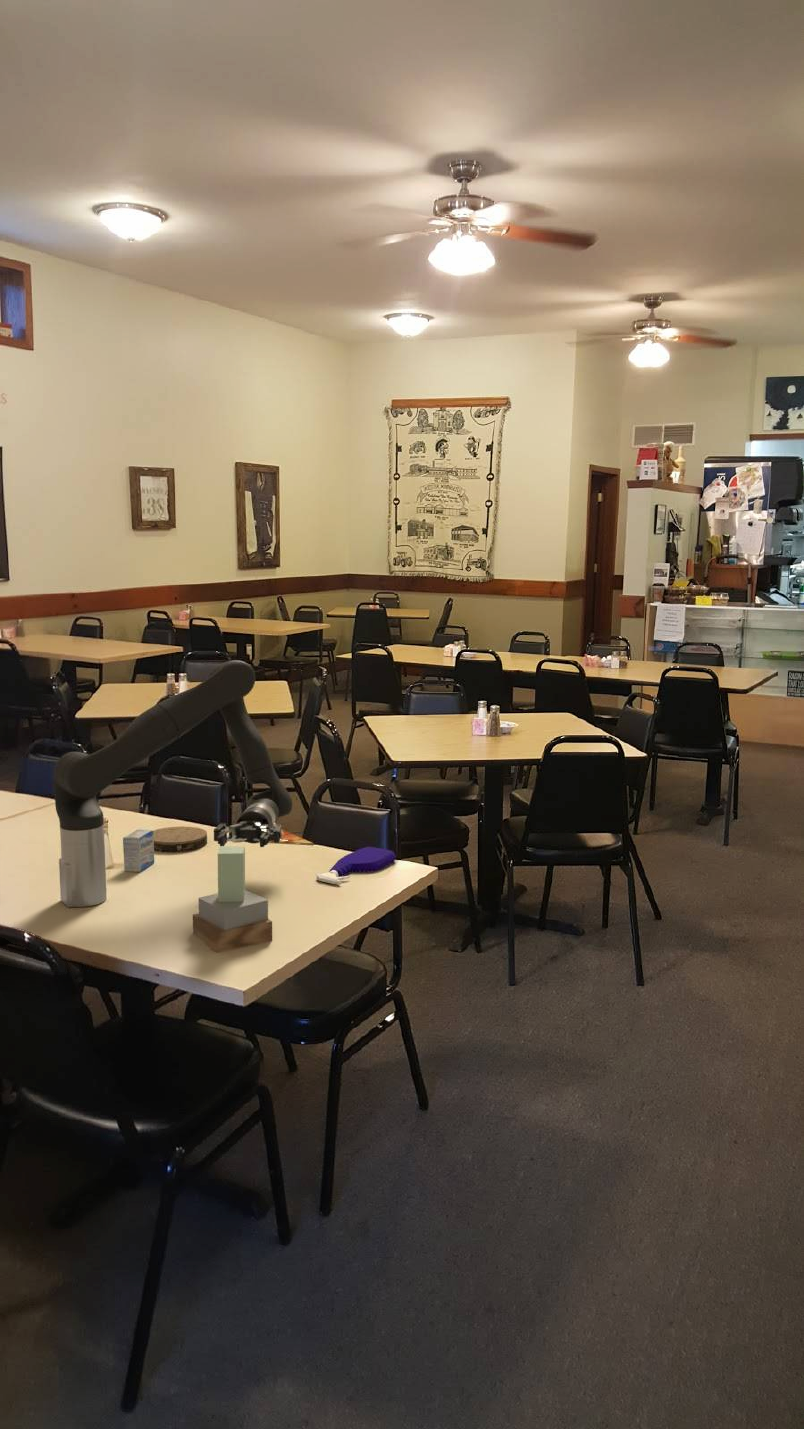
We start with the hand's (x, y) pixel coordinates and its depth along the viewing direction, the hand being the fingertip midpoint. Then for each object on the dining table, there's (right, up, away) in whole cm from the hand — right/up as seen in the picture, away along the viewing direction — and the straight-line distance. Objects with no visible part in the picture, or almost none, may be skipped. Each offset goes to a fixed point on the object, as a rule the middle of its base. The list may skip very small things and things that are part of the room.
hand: (241, 842), depth 212 cm
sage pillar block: (0, -10, -9) cm, 14 cm away
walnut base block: (0, -19, -9) cm, 20 cm away
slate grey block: (0, -14, -9) cm, 17 cm away
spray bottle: (+22, -12, +36) cm, 44 cm away
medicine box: (-31, -11, +37) cm, 49 cm away
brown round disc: (-26, -8, +57) cm, 63 cm away
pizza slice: (-3, -8, +61) cm, 62 cm away
